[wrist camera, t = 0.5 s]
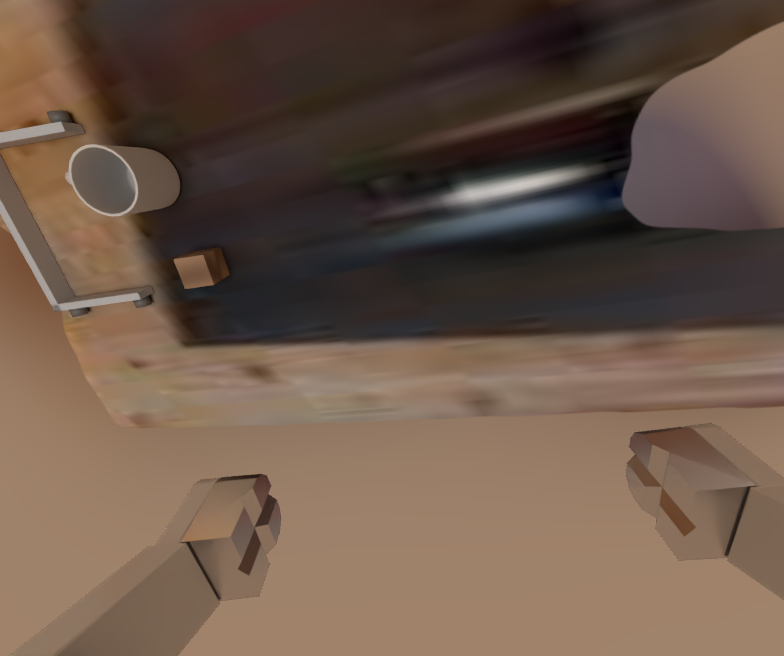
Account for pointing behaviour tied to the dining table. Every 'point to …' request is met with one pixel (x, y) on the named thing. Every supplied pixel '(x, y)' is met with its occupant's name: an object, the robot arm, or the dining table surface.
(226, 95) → the dining table surface
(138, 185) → the cup
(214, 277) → the walnut block
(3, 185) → the cart frame
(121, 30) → the dining table surface
